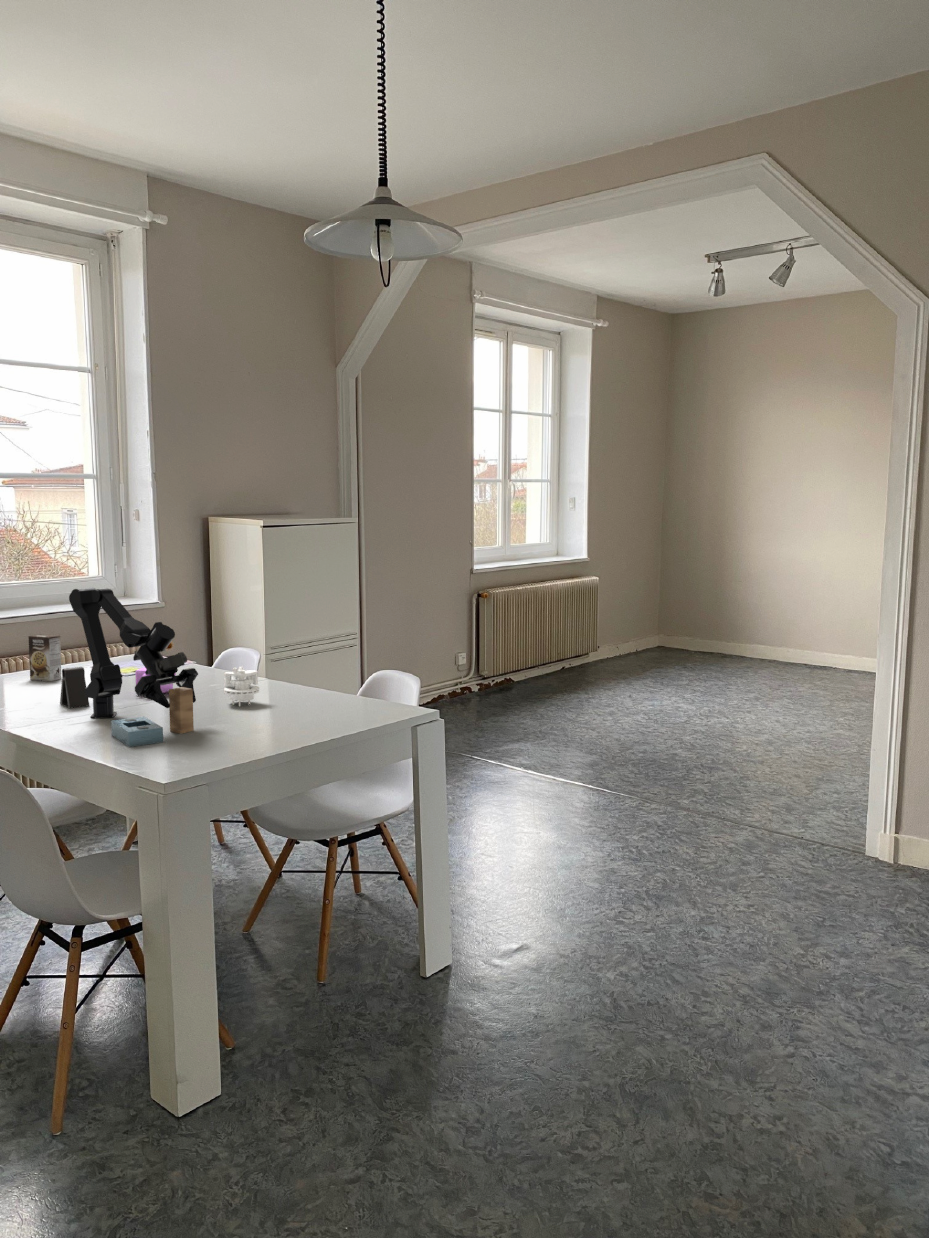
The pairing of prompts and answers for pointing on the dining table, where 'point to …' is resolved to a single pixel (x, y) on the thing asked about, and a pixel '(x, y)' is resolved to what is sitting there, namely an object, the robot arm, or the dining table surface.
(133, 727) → the socket block
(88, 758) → the dining table surface
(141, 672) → the teapot
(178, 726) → the wooden square peg
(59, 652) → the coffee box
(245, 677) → the mechanical part
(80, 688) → the phone stand
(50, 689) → the dining table surface
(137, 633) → the robot arm
